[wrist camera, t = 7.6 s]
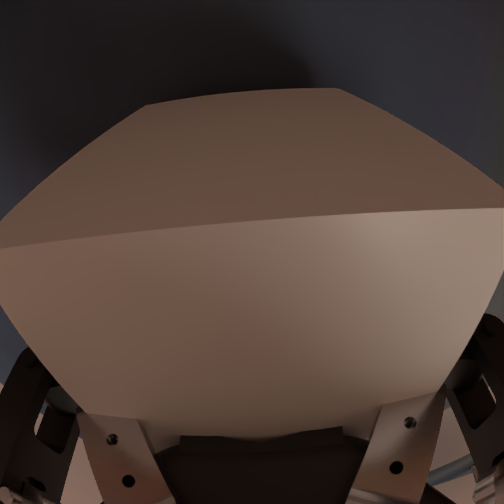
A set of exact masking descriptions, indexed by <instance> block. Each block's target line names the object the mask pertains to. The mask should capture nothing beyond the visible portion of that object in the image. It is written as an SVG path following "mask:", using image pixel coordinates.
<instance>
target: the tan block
mask: <svg viewBox="0 0 504 504" xmlns="http://www.w3.org/2000/svg"><path fill="white" fill-rule="evenodd" d="M503 271H504V189H503V188H502V187H501V186H499V185H498V184H497V183H495V182H494V181H493V180H492V179H490V178H489V177H488V176H486V175H485V174H484V173H482V172H481V171H480V170H478V169H477V168H476V167H474V166H473V165H471V164H470V163H469V162H467V161H466V160H464V159H463V158H461V157H460V156H459V155H457V154H456V153H454V152H453V151H451V150H450V149H448V148H447V147H445V146H443V145H442V144H440V143H439V142H437V141H436V140H434V139H432V138H431V137H429V136H428V135H426V134H424V133H423V132H421V131H419V130H418V129H416V128H414V127H413V126H411V125H409V124H407V123H406V122H404V121H402V120H400V119H399V118H397V117H395V116H393V115H391V114H389V113H388V112H386V111H384V110H382V109H380V108H378V107H376V106H374V105H372V104H370V103H368V102H366V101H364V100H362V99H360V98H358V97H356V96H354V95H352V94H350V93H348V92H346V91H343V90H341V89H339V88H295V89H272V90H257V91H244V92H233V93H224V94H215V95H207V96H199V97H192V98H185V99H179V100H173V101H167V102H161V103H156V104H150V105H145V106H144V107H142V108H140V109H139V110H137V111H136V112H134V113H133V114H131V115H130V116H128V117H127V118H125V119H124V120H122V121H121V122H119V123H118V124H116V125H115V126H113V127H112V128H110V129H109V130H108V131H106V132H105V133H103V134H102V135H101V136H99V137H98V138H96V139H95V140H94V141H92V142H91V143H90V144H88V145H87V146H86V147H84V148H83V149H82V150H80V151H79V152H78V153H76V154H75V155H74V156H73V157H71V158H70V159H69V160H68V161H66V162H65V163H64V164H63V165H61V166H60V167H59V168H58V169H57V170H55V171H54V172H53V173H52V174H51V175H49V176H48V177H47V178H46V179H45V180H44V181H42V182H41V183H40V184H39V185H38V186H37V187H36V188H35V189H33V190H32V191H31V192H30V193H29V194H28V195H27V196H26V197H25V198H24V199H23V200H21V201H20V202H19V203H18V204H17V205H16V206H15V207H14V208H13V209H12V210H11V211H10V212H9V213H8V214H7V215H6V216H5V217H4V218H3V219H2V220H1V221H0V305H1V307H2V308H3V310H4V311H5V313H6V314H7V316H8V317H9V319H10V320H11V322H12V323H13V325H14V326H15V328H16V329H17V330H18V332H19V333H20V335H21V336H22V337H23V339H24V340H25V342H26V343H27V344H28V346H29V347H30V348H31V350H32V351H33V352H34V353H35V355H36V356H37V357H38V359H39V360H40V361H41V362H42V364H43V365H44V366H45V367H46V369H47V370H48V371H49V372H50V373H51V375H52V376H53V377H54V378H55V379H56V381H57V382H58V383H59V384H60V385H61V386H62V387H63V389H64V390H65V391H66V392H67V393H68V394H69V395H70V396H71V397H72V399H73V400H74V401H75V402H76V403H77V404H78V405H79V406H80V407H81V408H82V409H83V410H84V411H85V412H86V413H90V414H97V415H105V416H114V417H123V418H134V419H137V420H138V421H139V422H140V424H141V425H142V426H143V427H144V428H145V429H146V431H147V434H148V436H149V438H150V441H151V443H152V445H153V447H154V449H155V452H156V453H158V452H159V451H162V450H164V449H166V448H169V447H172V446H176V445H180V436H181V435H187V436H223V437H227V438H232V439H237V440H241V441H247V442H252V443H258V444H262V443H267V442H270V441H273V440H277V439H280V438H283V437H286V436H289V435H292V434H295V433H298V432H301V431H309V430H317V429H325V428H332V427H338V426H342V430H343V435H348V436H354V437H359V438H362V439H365V440H368V439H369V436H370V434H371V431H372V428H373V425H374V422H375V419H376V416H377V415H378V413H379V411H380V409H381V407H382V405H383V404H387V403H391V402H396V401H400V400H405V399H409V398H413V397H417V396H421V395H425V394H429V393H433V392H436V391H438V390H439V388H440V387H441V385H442V384H443V382H444V381H445V379H446V378H447V376H448V375H449V373H450V372H451V370H452V369H453V367H454V365H455V364H456V362H457V361H458V359H459V357H460V356H461V354H462V352H463V351H464V349H465V347H466V345H467V344H468V342H469V340H470V338H471V337H472V335H473V333H474V331H475V329H476V327H477V325H478V324H479V322H480V320H481V318H482V316H483V314H484V312H485V310H486V308H487V306H488V304H489V302H490V300H491V298H492V295H493V293H494V291H495V289H496V287H497V284H498V282H499V280H500V278H501V275H502V273H503Z"/></svg>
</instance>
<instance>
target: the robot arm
mask: <svg viewBox="0 0 504 504" xmlns="http://www.w3.org/2000/svg"><path fill="white" fill-rule="evenodd" d="M483 376H484V377H485V379H486V381H487V383H488V384H489V386H490V388H491V390H492V392H493V394H494V396H495V399H496V403H495V401H494V399H493V397H492V395H491V393H490V391H489V389H488V387H487V385H486V383H485V382H484V380H483ZM446 397H447V399H448V401H449V403H450V405H451V408H452V410H453V412H454V414H455V417H456V419H457V421H458V424H459V426H460V428H461V431H462V433H463V435H464V438H465V441H466V443H467V446H468V448H469V451H470V453H471V456H472V458H473V461H474V464H475V466H476V469H477V472H478V475H479V479H478V480H477V482H476V485H475V491H474V493H473V497H472V498H473V501H474V502H475V503H476V504H504V323H503V322H502V321H501V320H500V319H499V318H497V317H495V316H493V315H491V314H485V313H484V314H483V316H482V318H481V320H480V322H479V324H478V325H477V327H476V329H475V331H474V333H473V335H472V337H471V338H470V340H469V342H468V344H467V345H466V347H465V349H464V351H463V352H462V354H461V356H460V357H459V359H458V361H457V362H456V364H455V365H454V367H453V369H452V370H451V372H450V373H449V375H448V376H447V378H446V379H445V381H444V382H443V384H442V385H441V387H440V388H439V390H438V391H436V392H433V393H429V394H425V395H421V396H417V397H413V398H409V399H405V400H400V401H396V402H391V403H387V404H383V405H382V407H381V409H380V411H379V413H378V415H377V416H376V419H375V422H374V425H373V428H372V431H371V434H370V436H369V439H368V440H365V439H362V438H359V437H354V436H348V435H343V430H342V426H338V427H332V428H325V429H317V430H309V431H301V432H298V433H295V434H292V435H289V436H286V437H283V438H280V439H277V440H273V441H270V442H267V443H262V444H258V443H252V442H247V441H241V440H237V439H232V438H227V437H223V436H187V435H181V436H180V445H176V446H172V447H169V448H166V449H164V450H162V451H159V452H158V453H156V452H155V449H154V447H153V445H152V443H151V441H150V438H149V436H148V434H147V431H146V429H145V428H144V427H143V426H142V425H141V424H140V422H139V421H138V420H137V419H134V418H123V417H114V416H105V415H97V414H90V413H86V412H85V411H84V410H83V409H82V408H81V407H80V406H79V405H78V404H77V403H76V402H75V401H74V400H73V399H72V397H71V396H70V395H69V394H68V393H67V392H66V391H65V390H64V389H63V387H62V386H61V385H60V384H59V383H58V382H57V381H56V379H55V378H54V377H53V376H52V375H51V373H50V372H49V371H48V370H47V369H46V367H45V366H44V365H43V364H42V362H41V361H40V360H39V359H38V357H37V356H36V355H35V353H34V352H33V351H32V350H31V348H30V347H28V348H26V349H25V350H24V351H23V352H22V353H21V354H20V355H19V357H18V359H17V361H16V363H15V365H14V366H13V368H12V370H11V372H10V374H9V376H8V378H7V380H6V383H5V385H4V387H3V389H2V391H1V393H0V504H61V503H60V500H61V496H62V492H63V488H64V484H65V481H66V477H67V473H68V470H69V466H70V463H71V460H72V456H73V452H74V450H75V446H76V443H77V440H78V437H79V433H80V432H81V436H82V439H83V443H84V446H85V450H86V453H87V456H88V459H89V462H90V466H91V468H92V471H93V474H94V477H95V480H96V483H97V486H98V489H99V491H100V494H101V496H102V499H103V502H102V503H101V504H456V503H454V502H453V501H452V500H450V499H449V498H448V497H446V496H445V495H443V494H442V493H441V492H439V491H438V490H437V489H435V488H434V487H432V486H431V485H430V484H428V483H427V482H426V481H427V478H428V474H429V471H430V467H431V463H432V460H433V456H434V452H435V448H436V443H437V439H438V435H439V431H440V426H441V421H442V416H443V411H444V405H445V399H446ZM44 402H45V403H46V404H47V405H48V406H47V408H46V411H45V413H44V416H43V418H42V421H41V424H40V426H39V429H38V432H37V435H36V436H35V432H34V426H35V423H36V420H37V418H38V415H39V413H40V410H41V408H42V405H43V403H44Z"/></svg>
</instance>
